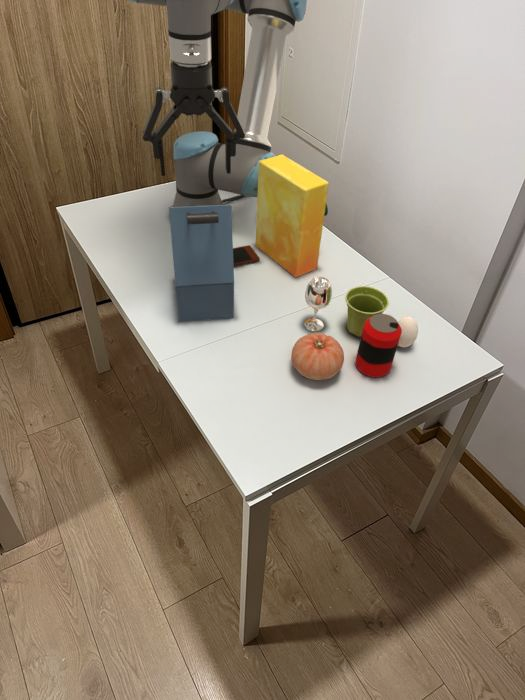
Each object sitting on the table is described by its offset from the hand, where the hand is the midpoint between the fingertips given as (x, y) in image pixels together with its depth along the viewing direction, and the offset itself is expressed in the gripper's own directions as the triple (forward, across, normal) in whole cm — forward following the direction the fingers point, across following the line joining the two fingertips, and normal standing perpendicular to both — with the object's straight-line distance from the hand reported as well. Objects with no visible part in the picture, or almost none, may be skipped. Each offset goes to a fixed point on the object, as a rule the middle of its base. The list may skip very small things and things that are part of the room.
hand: (195, 171), depth 112 cm
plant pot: (+29, +35, -22) cm, 50 cm away
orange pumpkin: (+29, +21, -33) cm, 49 cm away
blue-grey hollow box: (+29, 0, -7) cm, 29 cm away
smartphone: (+29, +8, +9) cm, 31 cm away
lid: (+11, 0, -11) cm, 16 cm away
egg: (+29, +42, -28) cm, 58 cm away
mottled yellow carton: (+29, +25, +10) cm, 40 cm away
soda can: (+29, +34, -33) cm, 56 cm away
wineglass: (+29, +24, -19) cm, 42 cm away
